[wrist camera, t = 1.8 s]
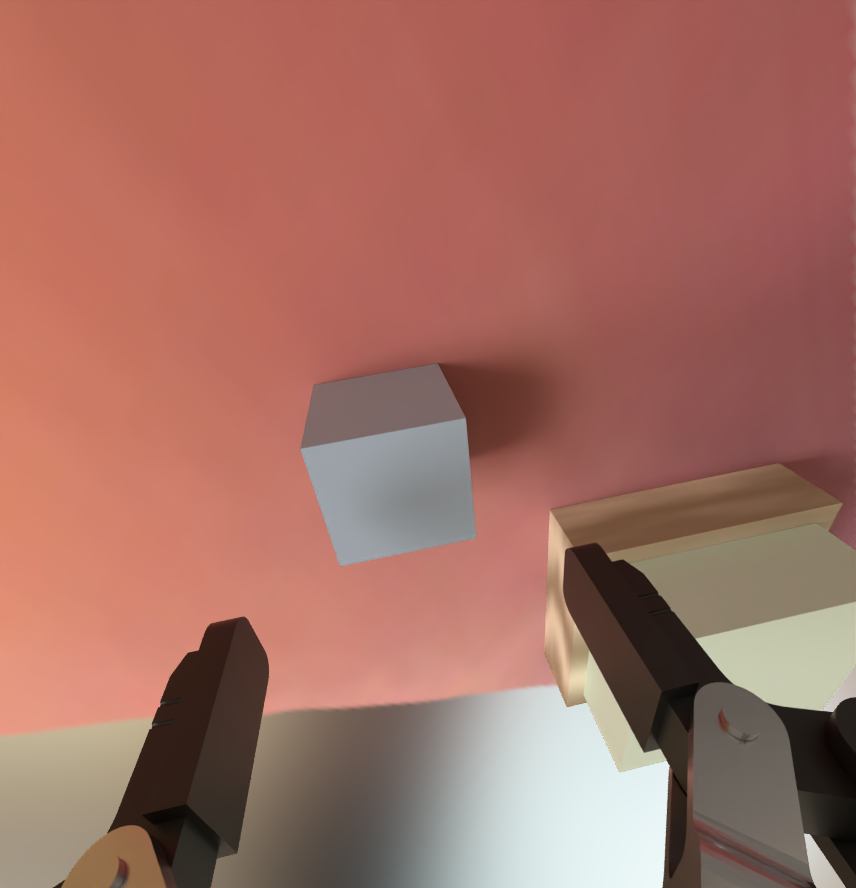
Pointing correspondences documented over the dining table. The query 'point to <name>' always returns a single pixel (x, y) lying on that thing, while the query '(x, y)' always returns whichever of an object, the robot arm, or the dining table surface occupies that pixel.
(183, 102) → the dining table surface
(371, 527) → the slate cube
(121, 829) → the robot arm
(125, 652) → the dining table surface
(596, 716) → the top block
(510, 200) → the dining table surface
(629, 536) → the base block
